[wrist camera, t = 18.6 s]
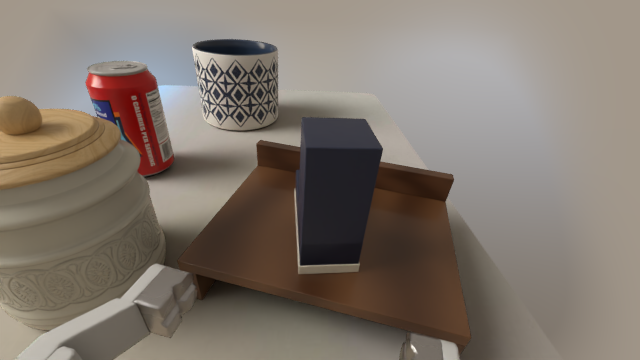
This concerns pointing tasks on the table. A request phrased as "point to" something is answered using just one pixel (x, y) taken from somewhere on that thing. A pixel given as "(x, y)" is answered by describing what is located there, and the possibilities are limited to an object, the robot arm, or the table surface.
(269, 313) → the table surface
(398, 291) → the wooden display stand
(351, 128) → the navy stepped block
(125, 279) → the jar
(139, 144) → the soda can
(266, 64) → the planter
